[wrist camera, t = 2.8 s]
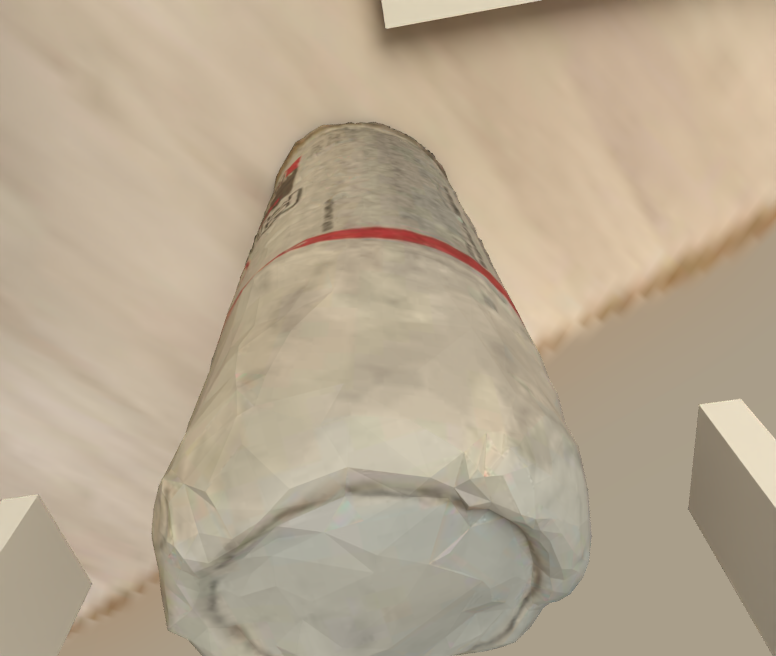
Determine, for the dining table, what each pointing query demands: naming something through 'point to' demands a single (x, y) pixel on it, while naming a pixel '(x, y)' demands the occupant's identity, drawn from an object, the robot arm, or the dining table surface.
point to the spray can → (369, 431)
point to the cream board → (436, 9)
